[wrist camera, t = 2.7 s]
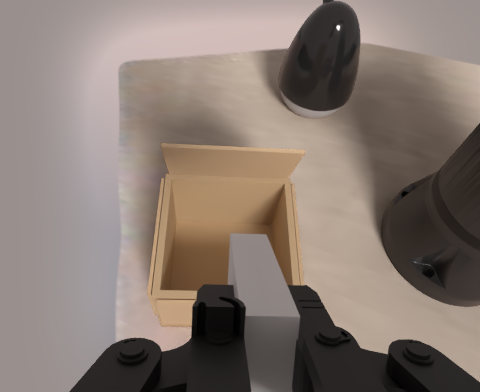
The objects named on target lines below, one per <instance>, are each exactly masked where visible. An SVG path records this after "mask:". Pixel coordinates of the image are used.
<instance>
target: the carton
mask: <svg viewBox="0 0 480 392" xmlns="http://www.w3.org/2000/svg"><path fill="white" fill-rule="evenodd" d="M230 233H238V234H266V235H267V237H268V240H269V242H270V245H271V247H272V249H273V252H274V254H275V257H276V259H277V262H278V264H279V266H280V269H281V271H282V274H283V276H284V279H285V281H286V283H287V285H304V278H303V268H302V258H301V247H300V237H299V227H298V217H297V207H296V197H295V186H294V183H291V182H290V179H268V178H244V177H220V176H196V175H173V174H167V173H166V177H165V178H161V185H160V193H159V201H158V209H157V218H156V226H155V234H154V242H153V250H152V258H151V266H150V274H149V282H148V290H147V294H148V297H149V300H150V302H151V305H152V308H153V311H154V313H155V315H158V318H159V321H160V324H161V326H177V327H192V306H193V304H194V302H195V301H196V298H197V291H198V290H199V289H200V288H201V287H202V286H203V285H204V284H213V285H228V267H229V248H230Z"/></svg>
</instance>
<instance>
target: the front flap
mask: <svg viewBox="0 0 480 392" xmlns="http://www.w3.org/2000/svg"><path fill="white" fill-rule="evenodd" d="M161 149H162V152H163V155H164V159H165V162H166V165H167V168H168V171H169V174H173V175H196V176H220V177H244V178H268V179H288V178H289V176H290V175H291V173H292V172H293V170H294V169H295V167H296V166H297V164H298V163H299V162H300V160H301V159H302V157H303V156H304V154H305V150H294V149H273V148H252V147H231V146H210V145H189V144H169V143H161Z"/></svg>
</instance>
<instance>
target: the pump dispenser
mask: <svg viewBox="0 0 480 392" xmlns="http://www.w3.org/2000/svg"><path fill="white" fill-rule="evenodd" d="M359 56H360V29H359V23H358V19H357V16H356V13H355V12H354V10H353V9H352V8H351V7H350V6H349V5H348V4H346V3H343V2H341V1H334V0H323V4H322V5H321V6H319V7H318V8H317V9H316V10H315V11H314V12H313V13H312V14H311V15H310V16H309V17H308V18H307V20H306V21H305V22H304V24H303V25H302V27H301V28H300V30H299V31H298V33H297V34H296V36H295V38H294V40H293V41H292V43H291V45H290V47H289V49H288V51H287V54H286V56H285V58H284V61H283V63H282V66H281V69H280V73H279V78H278V83H279V87H280V90H281V95H282V98H283V100H284V102H285V103H286V105H287V106H288V107H289V108H290V109H291V110H292V111H293V112H295V113H296V114H298V115H300V116H303V117H306V118H323V117H326V116H329V115H331V114H333V113H334V112H336V111H337V110H338V109H339V108H340V107H341V106H343V105H344V104H345V103H346V102H347V101H348V100H349V98H350V96H351V94H352V92H353V89H354V85H355V81H356V77H357V72H358V65H359Z"/></svg>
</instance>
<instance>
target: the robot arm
mask: <svg viewBox="0 0 480 392" xmlns="http://www.w3.org/2000/svg"><path fill="white" fill-rule="evenodd" d="M382 238H383V243H384V246H385V249H386V252H387V254H388V256H389V258H390V260H391V261H392V263H393V265H394V266H395V268H396V269H397V270H398V271H399V273H400V274H401V275H402V276H403V277H404V278H405V279H406V280H407V281H408V282H409V283H410V284H411V285H413V286H414V287H415V288H416V289H418V290H419V291H421V292H422V293H424V294H425V295H427V296H429V297H431V298H433V299H435V300H438V301H440V302H443V303H446V304H450V305H455V306H464V307H469V306H478V305H480V124H479V125H478V126H477V127H476V128H475V129H474V131H473V132H472V133H471V134H470V135H469V136H468V138H467V139H466V140H465V141H464V142H463V143H462V145H461V146H460V147H459V148H458V149H457V150H456V151H455V153H454V154H453V155H452V156H451V157H450V158H449V159H448V160H447V161H446V163H445V164H444V165H443V166H442V167H441V169H440V170H439V171H438V172H436V173H433V174H431V175H429V176H427V177H425V178H423V179H421V180H419V181H417V182H415V183H413V184H411V185H409V186H407V187H406V188H404V189H403V190H402V191H401V192H400V193H398V195H397V196H396V197H395V198H394V199H393V201H392V202H391V203H390V205H389V206H388V207H387V209H386V211H385V213H384V216H383V220H382ZM70 392H480V382H479V381H477V380H476V379H475V378H473V377H472V376H471V375H469V374H468V373H467V372H466V371H464V370H463V369H462V368H460V367H459V366H458V365H456V364H455V363H454V362H453V361H451V360H450V359H449V358H447V357H446V356H445V355H443V354H442V353H441V352H439V351H438V350H436V349H435V348H433V347H431V346H429V345H427V344H424V343H422V342H420V341H416V340H415V341H414V340H409V339H408V340H397V341H394V342H392V343H391V344H390V346H389V349H388V354H383V353H378V352H373V351H369V350H365V349H361V348H360V346H359V345H358V343H357V341H356V340H355V338H354V337H353V336H352V335H351V334H350V333H349V332H347V331H346V330H344V329H342V328H340V327H337V326H335V325H334V323H333V321H332V319H331V318H330V316H329V314H328V312H327V310H326V309H325V307H324V305H323V303H322V302H321V300H320V298H319V296H318V294H317V292H315V291H314V290H312V289H311V288H310V287H308V286H307V285H287V283H286V281H285V279H284V276H283V274H282V271H281V269H280V266H279V264H278V262H277V259H276V257H275V254H274V252H273V249H272V247H271V245H270V242H269V240H268V237H267V235H266V234H238V233H230V248H229V267H228V285H213V284H204V285H203V286H202V287H201V288H200V289H199V290H198V291H197V298H196V301H195V302H194V304H193V306H192V337H191V339H190V340H189V341H188V342H187V343H186V344H184V345H183V346H180V347H178V348H176V349H172V350H169V351H164V352H162V351H161V349H160V346H159V345H158V344H156V343H155V342H154V341H151V340H148V339H145V338H130V339H125V340H121V341H119V342H117V343H114V344H112V345H111V346H110V347H109V348H107V349H106V350H105V351H104V352H103V354H102V355H101V356H100V357H99V358H98V359H97V360H96V362H95V363H94V364H93V365H92V366H91V368H90V369H89V370H88V371H87V372H86V373H85V375H84V376H83V377H82V378H81V379H80V380H79V381H78V383H77V384H76V385H75V386H74V387H73V388H72V389H71V391H70Z"/></svg>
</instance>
